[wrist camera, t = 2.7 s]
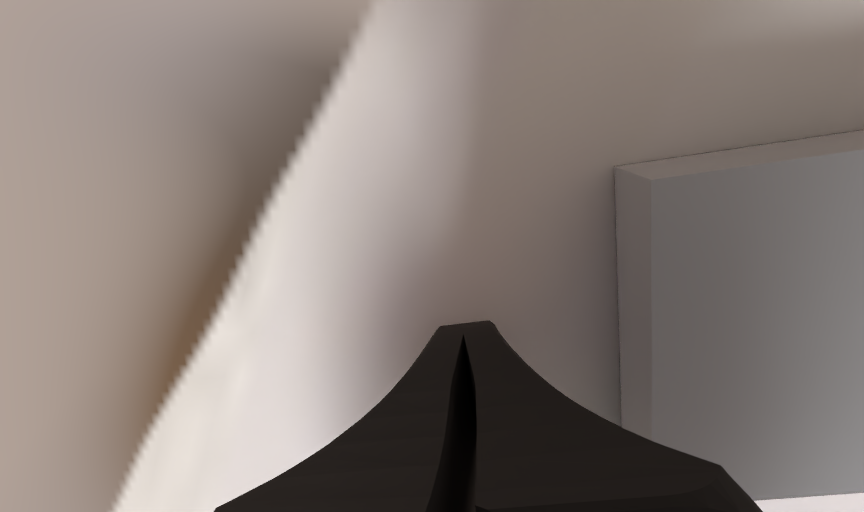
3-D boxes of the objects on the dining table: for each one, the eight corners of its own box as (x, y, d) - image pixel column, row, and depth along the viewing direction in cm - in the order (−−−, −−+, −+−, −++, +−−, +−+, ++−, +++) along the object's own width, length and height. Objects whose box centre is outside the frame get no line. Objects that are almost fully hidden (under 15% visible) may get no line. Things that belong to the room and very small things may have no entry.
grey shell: (1013, 413, 12) (1123, 474, 10) (622, 447, 12) (651, 508, 11) (1111, 93, 9) (1281, 89, 7) (614, 166, 10) (651, 179, 8)
